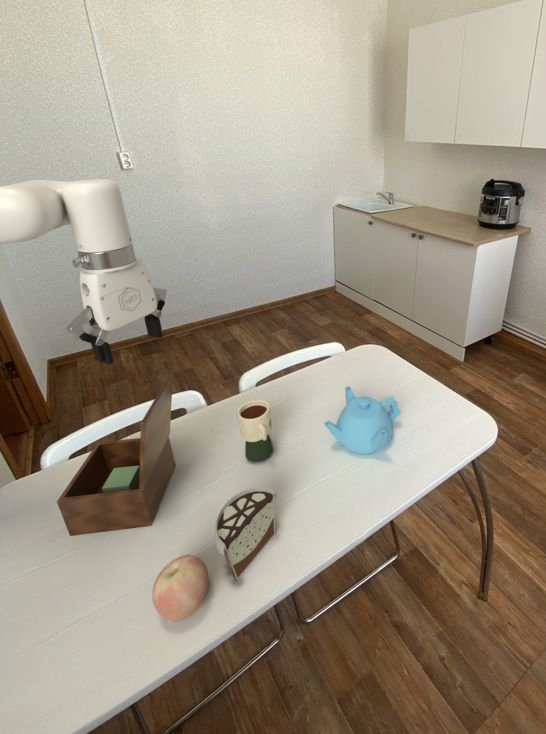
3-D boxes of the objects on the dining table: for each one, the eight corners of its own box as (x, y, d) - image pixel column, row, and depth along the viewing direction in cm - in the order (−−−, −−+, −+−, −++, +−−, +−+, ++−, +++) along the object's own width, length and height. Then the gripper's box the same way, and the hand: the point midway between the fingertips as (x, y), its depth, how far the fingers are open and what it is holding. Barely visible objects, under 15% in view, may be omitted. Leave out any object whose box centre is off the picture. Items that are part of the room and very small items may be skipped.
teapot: (385, 469, 85) (386, 430, 82) (324, 453, 90) (321, 415, 86) (401, 423, 99) (402, 388, 95) (347, 411, 104) (346, 377, 100)
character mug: (283, 461, 88) (278, 415, 83) (254, 477, 84) (247, 430, 79) (264, 434, 96) (259, 391, 92) (236, 447, 92) (229, 403, 88)
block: (108, 507, 77) (101, 488, 75) (119, 486, 81) (113, 468, 80) (134, 504, 77) (128, 485, 76) (144, 483, 82) (139, 465, 80)
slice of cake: (257, 512, 76) (251, 474, 72) (280, 527, 73) (276, 488, 70) (205, 569, 66) (196, 528, 63) (230, 589, 63) (221, 547, 60)
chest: (69, 536, 72) (56, 501, 69) (107, 473, 86) (97, 442, 83) (151, 526, 74) (141, 492, 71) (175, 465, 87) (168, 435, 84)
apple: (202, 567, 66) (195, 535, 64) (219, 605, 61) (212, 572, 58) (153, 602, 61) (142, 568, 59) (166, 646, 56) (155, 612, 53)
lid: (140, 422, 66) (144, 423, 66) (169, 374, 79) (173, 374, 79) (139, 490, 70) (143, 490, 71) (166, 433, 84) (169, 433, 84)
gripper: (67, 277, 54) (98, 380, 60) (169, 246, 69) (186, 331, 74) (35, 271, 57) (68, 369, 63) (140, 242, 71) (158, 324, 77)
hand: (132, 348), depth 68 cm, fingers open, 9 cm apart
